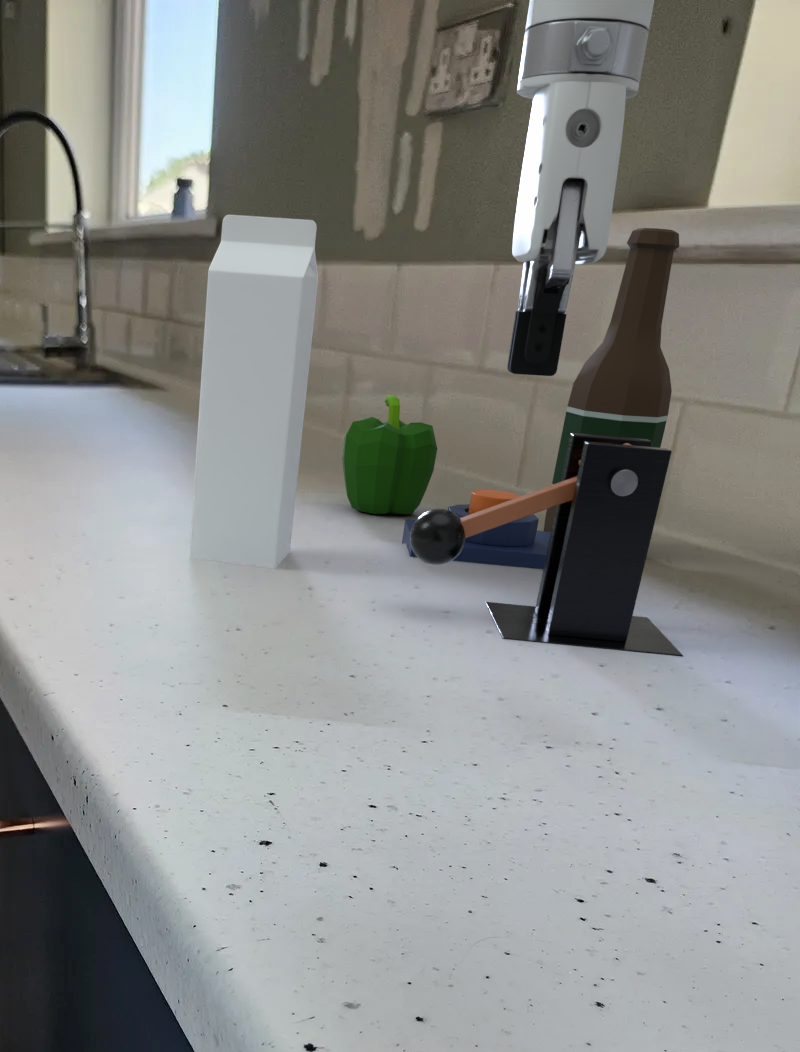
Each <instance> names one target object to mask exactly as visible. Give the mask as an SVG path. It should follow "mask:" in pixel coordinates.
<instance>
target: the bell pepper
mask: <svg viewBox="0 0 800 1052" xmlns="http://www.w3.org/2000/svg"><path fill="white" fill-rule="evenodd" d="M384 404H385V406H386V407H388V420H387V421H383V422H382V421H381V420H380V419H379V418H376V417H374V416H365V417H363V418H361V419H359V420H355V421H352V422H351V425H350V426H349V429H348V430H347V432H346V434H345V436H344V438H343V447H342V457H341V458H342V460H341V461H342V469H343V479H344V485H345V493H346V497H347V500H348V502H349V504H350V507H351V508H352V509H354V510H357V511H359V512H362V513H366V514H371V515H377V516H379V515H388V514H389V515H393V516H394V515H395V516H406V515H411V514H413V513H414V512H415V511H416V510H417V509H418V508H419V507H420V505H421V503H422V500H423V498H424V495H425V494H426V491H427V489H428V487H429V484H430V482H431V481H430V480H431V478H432V476H433V473H434V471H435V465H436V459H437V453H438V444H437V440H436V436H435V431H434V427H433V425H432V424H428V423H425V422H422V421H420V422H409V423H405V422H404V421H402V420H400V416H401V415H400V413H401V412H400V411H401V404H400V399H399V398H398V396H396V395H395V394H388V395H386V397H385V398H384Z"/></svg>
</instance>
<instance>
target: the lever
mask: <svg viewBox="0 0 800 1052" xmlns="http://www.w3.org/2000/svg"><path fill="white" fill-rule="evenodd" d="M622 445H631V444H629V443H625V444H622ZM580 461H581V460H579V466H580ZM576 481H577V476H576V477H573V478H570V479H568V480H565V481H562V482H559V483H556V484H554V485H552V484H550V485H548V486H546V487H543V488H540V489H537V490H534V491H531V492H529V493H526V494H523V495H519V496H520V497H518V498H515V499H512V500H509V501H507V502H504V503H501V504H498V505H495V506H493V507H490V508H487V509H484V510H482V511H479V512H476V513H473V514H470V515H468V516H465V517H462V518H459V517H458V516H457V515H456V514H455V513H453V512H451V511H449V510H448V509H445V508H434V509H433V508H432V509H429V510H427V511H425V512H423V513H421V514H420V516H418V517H417V519H415V520H416V521H415V523H414V524H413V526H412V529H411V532H410V544H411V548H412V550H413V552H414V553H415V555H416V556H417V557H418V558H417V557H416V558H417V559H418V560H420V561H422V562H423V563H425V564H428V565H431V566H442V565H446V564H449V563H451V562H453V561H452V560H454V559H455V558H456V557H457V556H458V555H459V554H460V553H461V551H462V549H463V547H464V545H465V541H466V538H467V537H470V536H473V535H476V534H478V533H481V532H484V531H487V530H490V529H492V528H495V527H498V526H501V525H504V524H507V523H509V522H512V521H515V520H518V519H521V518H523V517H526V516H529V515H532V514H534V515H536V514H537V513H541V512H543V511H547V509H549V508H551V507H554V506H557V505H560V504H563V503H566V502H568V501H571V500H573V495H574V491H575V486H576Z"/></svg>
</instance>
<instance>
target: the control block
mask: <svg viewBox="0 0 800 1052" xmlns="http://www.w3.org/2000/svg"><path fill="white" fill-rule="evenodd" d="M469 505H470V503H469V504H468V503H467V504H454V505H451V506H448V507H447V510H449V511H451V512H453V513H455V514H456V515H457V516H458V517H459V518H462V517H465V516H468V515H470V513H468V511H469ZM416 520H417V519H412V518H405V519H404V526H403V532H402V539H401V544H402V545H406V547H407V551H408V553H409V557H410V558H417V559H419V558H418V557H417V556H416V555H415V553H414V552H413V550H412V548H411V544H410V532H411V529H412V526H413V524H414V523H415V521H416ZM539 522H540V520H539V518H538V517H537V515H536V514H532V515H529V516H526V517H523V518H521V519H518V520H515V521H512V522H509V523H507V524H504V525H501V526H498V527H495V528H492V529H490V530H487V531H484V532H481V533H478V534H476V535H473V536H470V537H467V538H466V541H465V545H464V547H463V549H462V551H461V553H460V554H459V555H458V556H457V557H456V558H455V559H454V560H452V561H451V562H460V563H471V564H481V565H493V566H503V567H504V566H505V567H514V568H525V569H536V570H543V568H544V563H545V558H546V553H547V548H548V544H549V539H550V534H551V532H545V531H544V530H538V525H539Z"/></svg>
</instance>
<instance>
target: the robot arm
mask: <svg viewBox="0 0 800 1052" xmlns="http://www.w3.org/2000/svg"><path fill="white" fill-rule="evenodd" d="M654 5H655V0H529V3H528V10H527V16H526V24H525V32H524V36H523V43H522V44H523V45H522V52H521V58H520V65H519V72H518V79H517V87H516V94H517V95H519V96H520V97H523V98H524V99H530V100H532V105H531V111H530V117H529V122H528V129H527V133H526V142H525V148H524V154H523V160H522V166H521V167H522V168H521V173H520V179H519V188H518V194H517V202H516V208H515V211H516V212H515V215H514V216H515V217H514V224H513V225H514V226H513V234H512V244H511V250H512V251H511V254H512V256H513V258H514V259H515V260H516V261H518V262H519V263H523V265H522V273H521V279H520V280H521V281H520V289H519V297H518V303H517V304H518V305H517V310H516V311H515V313H514V320H513V326H512V332H511V340H510V345H509V352H508V358H507V366H506V368H507V371H508V372H509V373H511V374H514V375H523V376H524V375H525V376H542V377H553V376H555V375H556V374H557V373H558V367H559V362H560V361H559V360H560V355H561V351H562V350H561V349H562V345H563V343H562V342H563V337H564V332H565V325H566V321H567V316H568V315H567V313H566V311H567V307H568V303H569V298H570V293H571V288H572V282H573V277H574V272H575V267H576V266H583V265H591V264H595V263H597V262H598V261H599V260H601V259H602V258H603V257H604V255H605V254H606V252H607V247H608V242H609V235H610V229H611V222H612V214H613V207H614V201H615V194H616V193H615V192H616V188H617V179H618V170H619V164H620V158H621V151H622V150H621V149H622V141H623V132H624V123H625V115H626V114H625V112H626V101H627V99H628V100H629V99H632V98H634V97H636V96H637V95H639V89H640V82H641V78H642V72H643V66H644V62H645V56H646V50H647V45H648V39H649V34H650V33H649V31H650V28H651V27H650V26H651V21H652V15H653V11H654V10H653V9H654Z"/></svg>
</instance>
